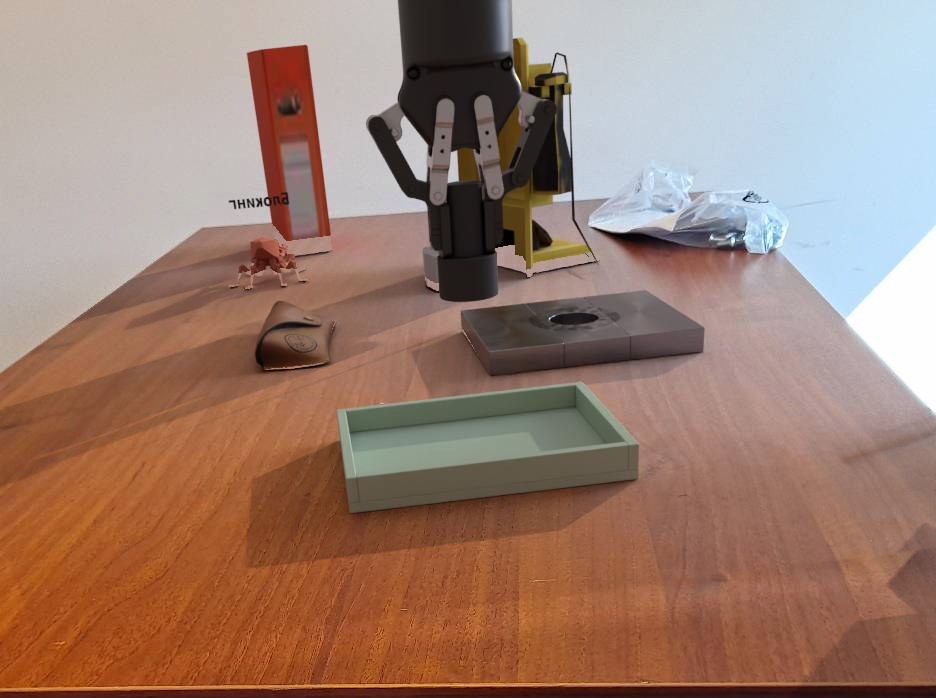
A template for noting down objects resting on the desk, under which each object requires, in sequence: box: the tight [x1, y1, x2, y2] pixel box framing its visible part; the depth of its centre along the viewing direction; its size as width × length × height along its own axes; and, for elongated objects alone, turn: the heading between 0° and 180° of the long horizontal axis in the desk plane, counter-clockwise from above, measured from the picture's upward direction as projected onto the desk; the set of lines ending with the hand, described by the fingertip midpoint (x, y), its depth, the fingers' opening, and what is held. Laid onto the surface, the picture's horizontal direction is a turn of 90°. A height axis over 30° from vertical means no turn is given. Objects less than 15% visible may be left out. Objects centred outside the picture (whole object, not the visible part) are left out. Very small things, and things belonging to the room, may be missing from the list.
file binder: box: [246, 44, 332, 241], centre depth 167 cm, size 8×17×32 cm, turn 14°
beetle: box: [228, 192, 297, 275], centre depth 148 cm, size 15×12×13 cm
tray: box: [336, 381, 640, 514], centre depth 78 cm, size 22×16×3 cm
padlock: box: [422, 242, 440, 283], centre depth 134 cm, size 7×4×10 cm, turn 11°
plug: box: [437, 180, 499, 303], centre depth 71 cm, size 4×4×8 cm
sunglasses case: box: [254, 300, 336, 370], centre depth 113 cm, size 18×7×7 cm
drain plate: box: [460, 289, 706, 377], centre depth 106 cm, size 22×18×2 cm
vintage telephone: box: [456, 37, 600, 270], centre depth 138 cm, size 31×14×30 cm, turn 26°
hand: (467, 253), depth 72 cm, fingers closed on plug, 2 cm apart
